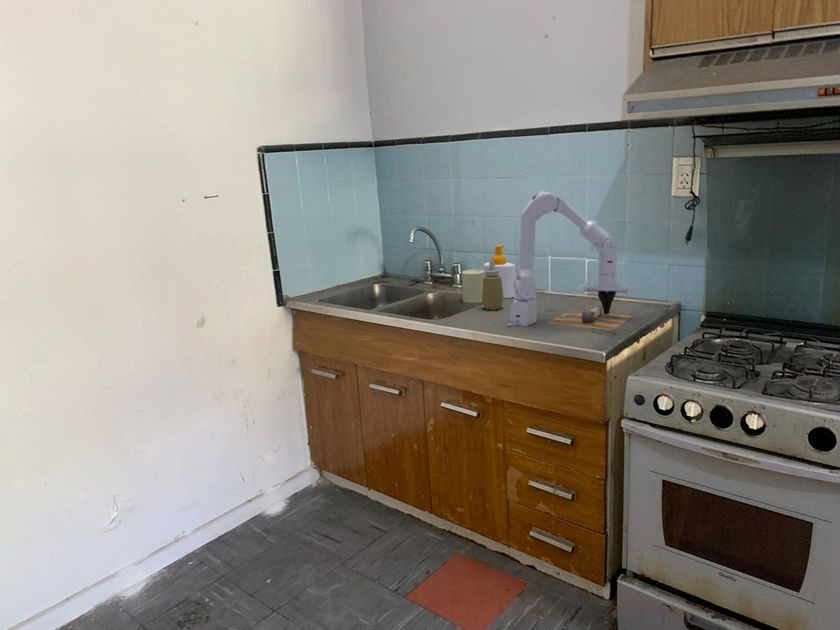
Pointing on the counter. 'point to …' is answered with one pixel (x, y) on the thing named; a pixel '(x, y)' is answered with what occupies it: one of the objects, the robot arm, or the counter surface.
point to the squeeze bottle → (492, 289)
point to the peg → (591, 314)
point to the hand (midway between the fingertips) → (606, 313)
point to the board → (600, 322)
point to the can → (472, 285)
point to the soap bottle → (503, 272)
